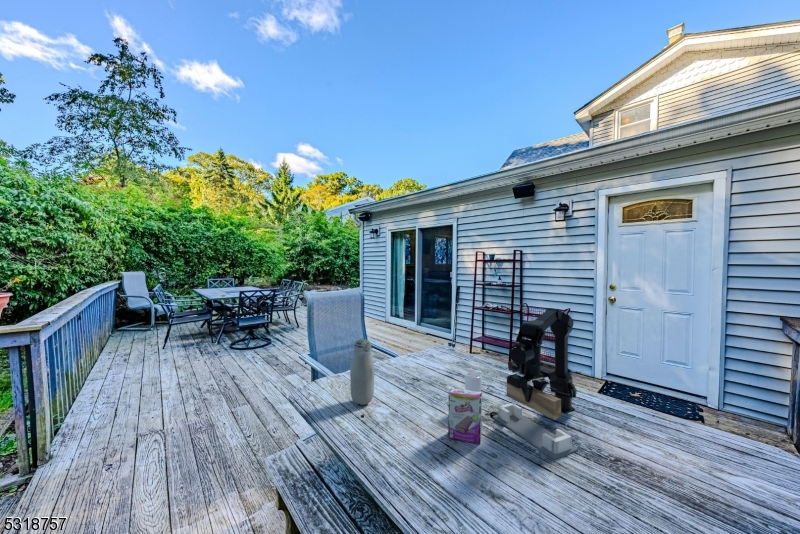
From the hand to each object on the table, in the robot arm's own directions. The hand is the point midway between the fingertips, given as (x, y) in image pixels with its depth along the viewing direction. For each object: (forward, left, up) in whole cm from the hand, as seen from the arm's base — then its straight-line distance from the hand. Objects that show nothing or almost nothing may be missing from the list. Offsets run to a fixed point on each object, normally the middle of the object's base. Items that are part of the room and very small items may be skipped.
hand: (531, 401), depth 109 cm
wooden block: (0, 0, -2) cm, 2 cm away
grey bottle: (+49, -47, -12) cm, 69 cm away
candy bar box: (+24, -7, -12) cm, 28 cm away
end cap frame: (0, 0, -12) cm, 12 cm away
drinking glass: (+9, -22, -12) cm, 26 cm away
